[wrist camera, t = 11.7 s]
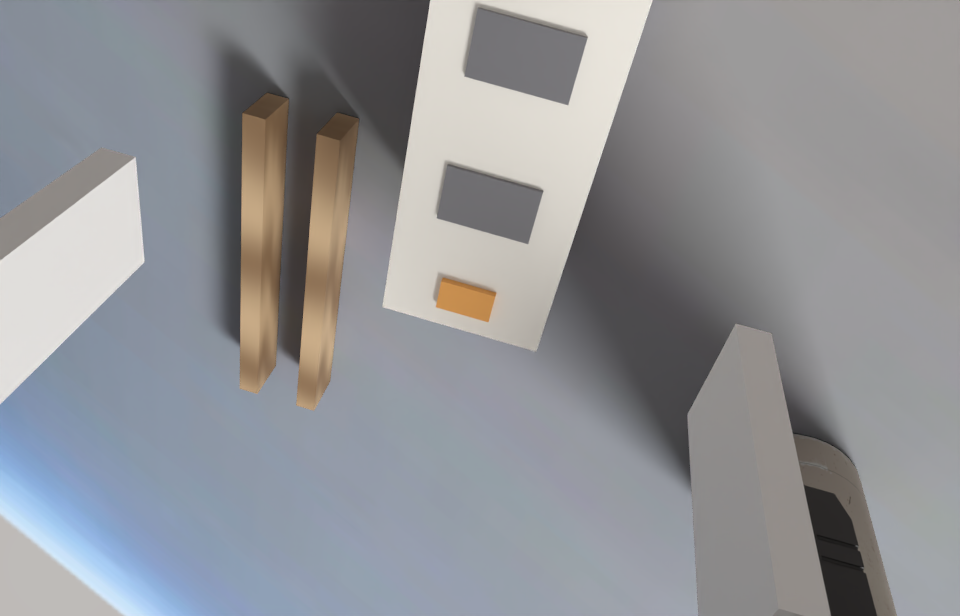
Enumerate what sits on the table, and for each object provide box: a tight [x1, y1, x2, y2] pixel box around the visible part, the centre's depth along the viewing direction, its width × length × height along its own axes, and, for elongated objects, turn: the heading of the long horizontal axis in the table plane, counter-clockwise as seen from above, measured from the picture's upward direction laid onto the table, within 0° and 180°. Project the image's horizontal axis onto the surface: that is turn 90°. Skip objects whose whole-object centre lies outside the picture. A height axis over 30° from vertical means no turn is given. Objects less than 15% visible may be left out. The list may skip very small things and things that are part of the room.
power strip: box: [383, 0, 653, 352], centre depth 26 cm, size 16×6×8 cm, turn 168°
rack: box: [240, 93, 359, 410], centre depth 37 cm, size 16×4×2 cm, turn 168°
